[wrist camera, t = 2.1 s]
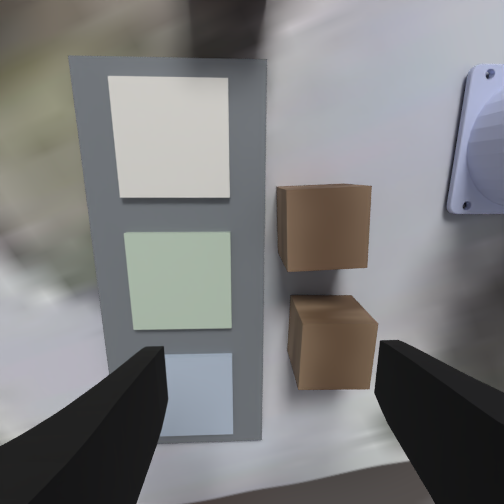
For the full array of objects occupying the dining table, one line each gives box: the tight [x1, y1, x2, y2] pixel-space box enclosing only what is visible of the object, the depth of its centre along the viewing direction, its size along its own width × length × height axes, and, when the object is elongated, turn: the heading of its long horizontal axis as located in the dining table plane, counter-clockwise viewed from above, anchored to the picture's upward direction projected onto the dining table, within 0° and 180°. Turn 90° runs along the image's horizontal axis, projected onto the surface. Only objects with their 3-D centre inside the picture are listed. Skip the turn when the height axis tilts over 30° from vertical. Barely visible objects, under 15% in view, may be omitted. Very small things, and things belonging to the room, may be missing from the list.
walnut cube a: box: [276, 184, 372, 272], centre depth 17 cm, size 4×4×4 cm
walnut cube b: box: [287, 295, 378, 390], centre depth 18 cm, size 4×4×4 cm
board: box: [68, 56, 267, 444], centre depth 18 cm, size 10×24×1 cm, turn 0°
